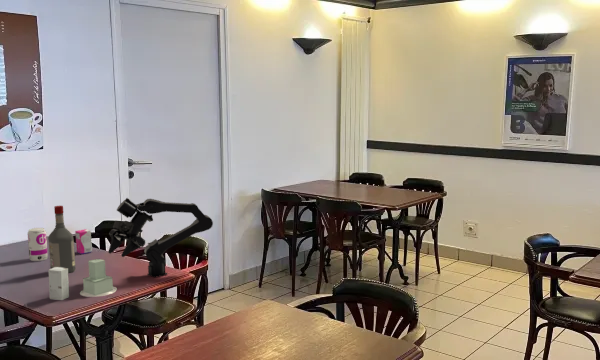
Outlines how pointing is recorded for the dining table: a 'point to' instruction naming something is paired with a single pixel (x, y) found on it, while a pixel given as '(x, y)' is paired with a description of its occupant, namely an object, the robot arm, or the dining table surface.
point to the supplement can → (37, 244)
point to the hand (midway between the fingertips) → (115, 254)
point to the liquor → (61, 244)
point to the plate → (97, 295)
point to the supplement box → (83, 241)
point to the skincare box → (58, 283)
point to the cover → (97, 278)
